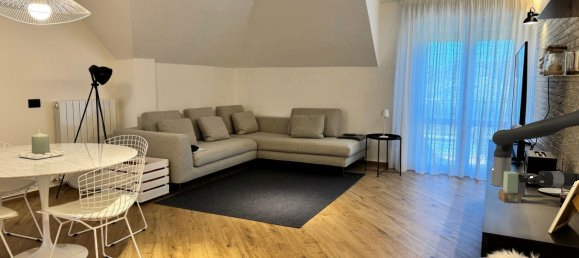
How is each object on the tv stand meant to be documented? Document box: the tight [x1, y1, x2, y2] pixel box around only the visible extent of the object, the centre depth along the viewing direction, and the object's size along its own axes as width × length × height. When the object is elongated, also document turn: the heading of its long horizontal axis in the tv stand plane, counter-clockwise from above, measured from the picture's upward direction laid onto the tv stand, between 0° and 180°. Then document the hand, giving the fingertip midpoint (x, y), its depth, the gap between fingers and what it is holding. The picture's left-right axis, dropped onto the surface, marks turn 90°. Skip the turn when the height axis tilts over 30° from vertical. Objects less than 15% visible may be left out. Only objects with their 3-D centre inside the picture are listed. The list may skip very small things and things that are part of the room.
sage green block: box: [502, 170, 519, 193], centre depth 202 cm, size 5×5×10 cm
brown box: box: [497, 188, 522, 204], centre depth 204 cm, size 8×8×5 cm
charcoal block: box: [518, 179, 526, 198], centre depth 213 cm, size 5×5×10 cm
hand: (515, 178), depth 201 cm, fingers open, 8 cm apart
